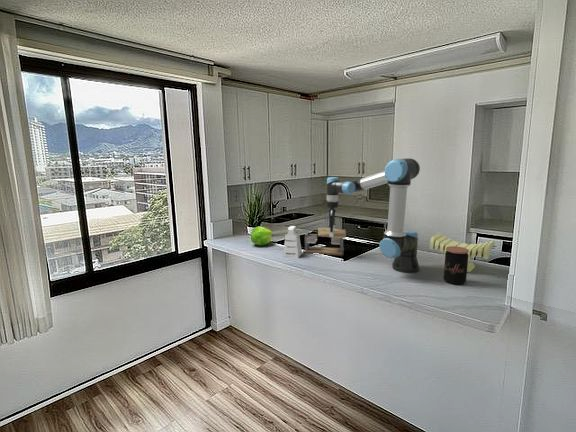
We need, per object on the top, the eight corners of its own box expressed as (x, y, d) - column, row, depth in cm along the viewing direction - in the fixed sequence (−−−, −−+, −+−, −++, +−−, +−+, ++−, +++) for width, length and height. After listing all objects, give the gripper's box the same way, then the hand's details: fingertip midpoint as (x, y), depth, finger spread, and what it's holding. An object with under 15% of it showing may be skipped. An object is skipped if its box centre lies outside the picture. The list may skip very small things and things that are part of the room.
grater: (283, 257, 218) (282, 228, 214) (287, 252, 228) (287, 225, 224) (298, 258, 215) (297, 229, 211) (302, 253, 225) (301, 225, 221)
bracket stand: (342, 255, 218) (342, 236, 216) (303, 253, 225) (303, 235, 222) (343, 249, 231) (344, 232, 228) (306, 248, 237) (306, 230, 235)
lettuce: (277, 243, 254) (278, 227, 247) (258, 252, 240) (259, 236, 234) (264, 235, 262) (265, 221, 256) (245, 244, 249) (245, 229, 243)
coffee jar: (440, 281, 171) (442, 249, 168) (447, 276, 178) (450, 244, 175) (461, 287, 163) (464, 253, 160) (468, 281, 171) (471, 248, 167)
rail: (344, 238, 210) (344, 231, 209) (317, 236, 216) (317, 228, 215) (345, 236, 214) (345, 229, 213) (319, 234, 220) (319, 227, 219)
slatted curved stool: (428, 265, 195) (430, 237, 192) (437, 259, 207) (439, 232, 203) (485, 277, 175) (488, 246, 172) (491, 269, 186) (494, 240, 183)
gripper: (337, 203, 201) (336, 239, 206) (339, 199, 218) (338, 232, 222) (325, 203, 203) (324, 238, 207) (328, 199, 219) (327, 232, 224)
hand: (331, 235), depth 215 cm, fingers closed on rail, 4 cm apart
